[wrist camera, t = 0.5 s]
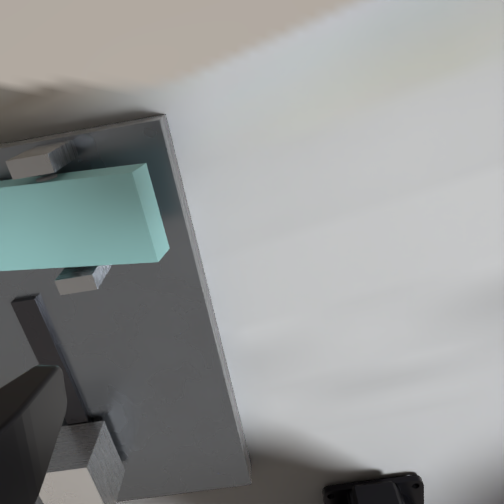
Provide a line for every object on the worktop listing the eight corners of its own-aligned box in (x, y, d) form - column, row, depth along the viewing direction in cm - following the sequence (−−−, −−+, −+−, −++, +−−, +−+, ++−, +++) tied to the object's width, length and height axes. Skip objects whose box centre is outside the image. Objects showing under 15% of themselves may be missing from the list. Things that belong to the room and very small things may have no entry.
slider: (125, 470, 26) (111, 519, 24) (75, 476, 26) (56, 526, 24) (104, 420, 25) (86, 467, 22) (51, 427, 25) (28, 475, 22)
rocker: (170, 249, 18) (158, 263, 17) (10, 259, 21) (-9, 272, 20) (145, 161, 17) (131, 170, 16) (-25, 182, 19) (-47, 191, 18)
